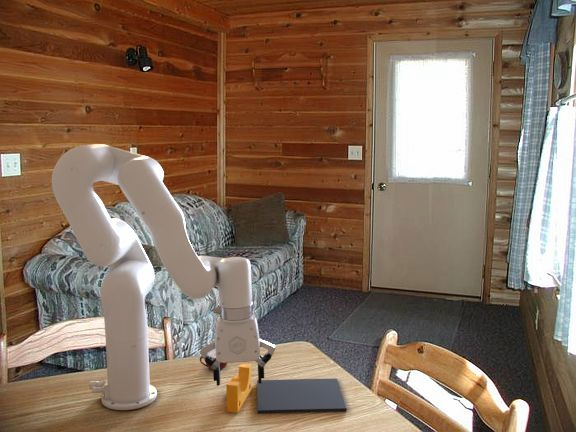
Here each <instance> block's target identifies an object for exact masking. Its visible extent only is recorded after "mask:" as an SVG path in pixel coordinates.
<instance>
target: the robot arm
mask: <svg viewBox="0 0 576 432" xmlns="http://www.w3.org/2000/svg"><path fill="white" fill-rule="evenodd" d="M164 176H165V175H164V170H163V168H162V166H161V164H160V163H159V162H158V161H157V160H156V159H154V158H152V157H151V156H147V155H143V154H139V153H136V152H132V151H129V150H125V149H123V148H122V149H121V148H118V147H114V146H110V145H107V144H103V143H93V144H85V145H77V146H75V147H72V148H70V149H69V150H67V151H66V152H65V153H63V154H62V155H61V156H60V157H59V159H58V160H57V162H56V163H55V165H54V168H53V170H52V174H51V188H52V189H51V190H52V193H53V195H54V198H55V200H56V202H57V204H58V205H59V208H60V209H61V211H62V212H63V214H64V217H65V219H66V220H67V222H68V225H69V226H70V229H71V231H72V233H73V235H74V236H75V238H76V240H77V242H78V244H79V246H80V248H81V250H82V252H83V254H84V256H85V257H86V259H87V260H88V261H89V262H90V263H91V265H94V266H96V267H100V268H101V267H102V268H103V267H109V269H110V272H109V273H108V274H107V275H106V276H105V278H104V279H103V281H102V284H101V286H100V304H101V308H102V313H103V322H104V337H105V358H106V377H107V379H103V380H101V381H99V380H90V381H89V386H88V387H89V388H88V389H89V390H91V393H92V394H101V393H102V394H101V397H100V398H101V399H100V400H101V404H102V405H103V406H104V407H105V408H108V409H110V410H115V411H130V410H137V409H140V408H141V409H142V408H145V407H146V406H148V405H151V404H152V403H154V401H156V398H158V397H157V396H158V392H157V388H156V387H155V386H153V385H151V381H150V379H151V377H150V356H149V355H150V352H149V351H150V350H149V327H148V316H147V310H146V303H145V301H146V300H145V299H146V297H147V295H148V294H149V292H151V290H152V289H153V287H154V284H155V281H156V276H155V275H156V274H155V270H154V268H153V265H152V263H151V261H150V259H149V257H148V255H147V253H146V251H145V249H144V248H143V246H142V243H141V242H140V240H139V237H138V235H137V234H136V232H135V231H134V229H133V228H132V226H131V225H129V224H128V223H127V222H126V221H125V220H122V219H120V218H111V216H110V214H109V213H108V211H107V209H106V207H105V205H104V203H103V201H102V199H101V198H100V196H98V194H97V193H96V191H95V189H94V187H93V186H94V183H97V182H100V181H102V182H105V183H110V184H113V185H117V186H119V189H120V190H121V191H122V193H123V195H124V196H125V198H126V199H127V201H128V203H130V205H131V206H132V208H133V210H134V211H135V212H136V214H137V216H138V217H139V218H140V221H142V223H143V224H144V226H145V228H146V229H147V230H148V232H149V234H150V236H151V239H152V243H153V245H154V247H155V250H156V252H157V254H158V257H159V258H160V261H161V263H162V265H163V267H164V268H165V270H166V272H167V274H168V275H169V276H170V278H171V280H172V281H173V282H174V284H175V285H176V287H177V288H178V289H179V290H180V291H181V292H182V293H183V294H184V295H185V296H186V297H188V298H190V299H195V300H196V299H197V300H198V299H203V298H204V297H206V296H208V295H209V294H210V293H211V292H212V290H213V289H214V288H216V287H217V288H218V305H217V306H216V307H212V312H213V314H217V315H218V317H217V318H216V321H215V328H214V329H215V330H214V332H215V333H214V338H215V339H214V341H212V342H211V343H209V344H207V345H205V346H203V347H201V349H199V350H200V351H199V354H200V355H201V356H202V357H203V358H202V359H203V360H204V362H205V364H206V363H207V364H208V365H210V366H211V367H212V369H213V370H212V369H211V370H212V375H213V377H212V378H213V382H216V387H219V386H221V369H220V363H227V364H232V363H250V362H256V363H257V380H258V383H259V384H261V380H262V379H265V366H266V365H267V364H268V362H270V360H271V359H272V357H273V355H274V353H275V351H276V344H272V343H271V342H269V341H266V340H264V339H262V338H260V331H259V324H258V320H257V317H256V315H255V314H254V312H253V311H254V310H253V287H252V285H253V284H252V283H253V282H252V265H251V261H250V260H249V259H248V258H246V257H243V256H229V257H218V256H217V257H216V256H211V255H198V254H197V253H196V251H195V249H194V248H193V247H194V246H193V245H192V244H191V242H190V239H189V236H188V233H187V229H186V220H185V215H184V212H183V211H182V209H181V208H180V206H179V205H178V203H177V201H176V200H175V199H174V197H173V195H172V194H171V193H170V191H169V190H168V187H167V186H166V185H165V184H164V182H163V181H164ZM261 348H263V349H265V350H267V352H266V353H265V354H264V355H262V354H261ZM213 349H215V355H216V358H215V359H213V358H212V357H210V356H209V354H208V352H210V351H211V350H213Z"/></svg>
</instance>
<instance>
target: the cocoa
mask: <svg viewBox="0 0 576 432" xmlns="http://www.w3.org/2000/svg"><path fill="white" fill-rule="evenodd" d="M208 354H209V356H210V357H212V358H213V359H215V358H216V355H215V349H213V350H211V351H210V352H208ZM202 359H204V358H203V357H202V355H201V356H200V357H199V362H200V363H201V364H202V365H203V366H204V367H207V368H209V369H210V370H212V371H213V369H212V367H211V366H210V365H208V364H207V363H206V362H205V363H204V362H203V361H202ZM227 365H228V363H220V370H223V369H224V368H226V367H227Z"/></svg>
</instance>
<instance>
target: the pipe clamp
mask: <svg viewBox="0 0 576 432" xmlns="http://www.w3.org/2000/svg"><path fill="white" fill-rule="evenodd" d="M252 380H253V379H252V364H250V363H240V364H239V366H238V375H233V377H232V378H231V380H229V381H228V382H227V383H226V386H225V387H226V391H225V394H226V395H225V396H226V413H234V414H239V412H240V410H241V409H242V407H243V405H244V403H245V402H246V400H247V398H248V397H249V395H250V393H251V392H252V386H253V385H252V384H253V383H252Z"/></svg>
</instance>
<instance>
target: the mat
mask: <svg viewBox="0 0 576 432" xmlns="http://www.w3.org/2000/svg"><path fill="white" fill-rule="evenodd" d="M256 394H257V395H256V399H257V401H256V402H257V403H256V404H257V414H262V415H263V414H264V415H265V414H298V413H299V414H301V413H302V414H303V413H339V412H340V413H343V412H345V413H346V412H347V411H348V409H347V405H346V403H345V398H344V396H343V393H342V390H341V386H340V383H339V379H338V378H337V377H336V378H297V379H296V378H295V379H261V384H259V383H258V379H257V380H256Z"/></svg>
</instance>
